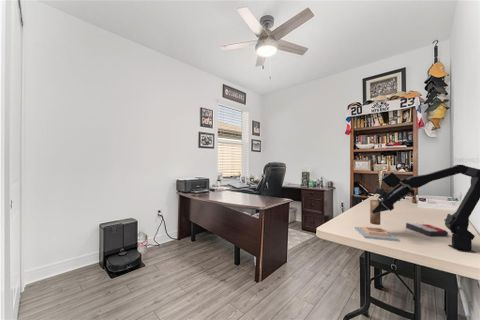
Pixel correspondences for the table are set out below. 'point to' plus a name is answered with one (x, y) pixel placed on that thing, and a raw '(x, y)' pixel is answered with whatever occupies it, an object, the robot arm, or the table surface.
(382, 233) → the plinth
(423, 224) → the grey and red box
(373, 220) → the column
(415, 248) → the table surface
